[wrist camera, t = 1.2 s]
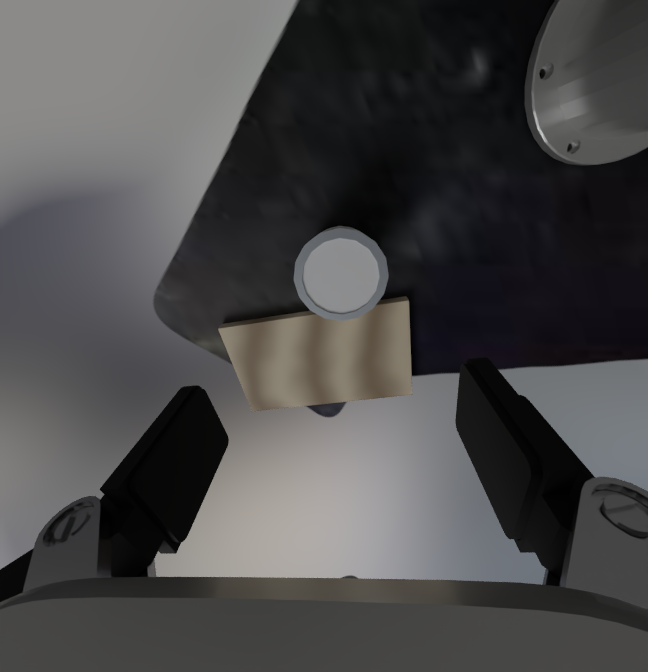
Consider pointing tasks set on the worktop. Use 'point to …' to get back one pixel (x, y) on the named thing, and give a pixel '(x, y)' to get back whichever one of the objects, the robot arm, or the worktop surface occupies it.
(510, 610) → the robot arm
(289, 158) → the worktop surface
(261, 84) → the worktop surface
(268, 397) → the birch board
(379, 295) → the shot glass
